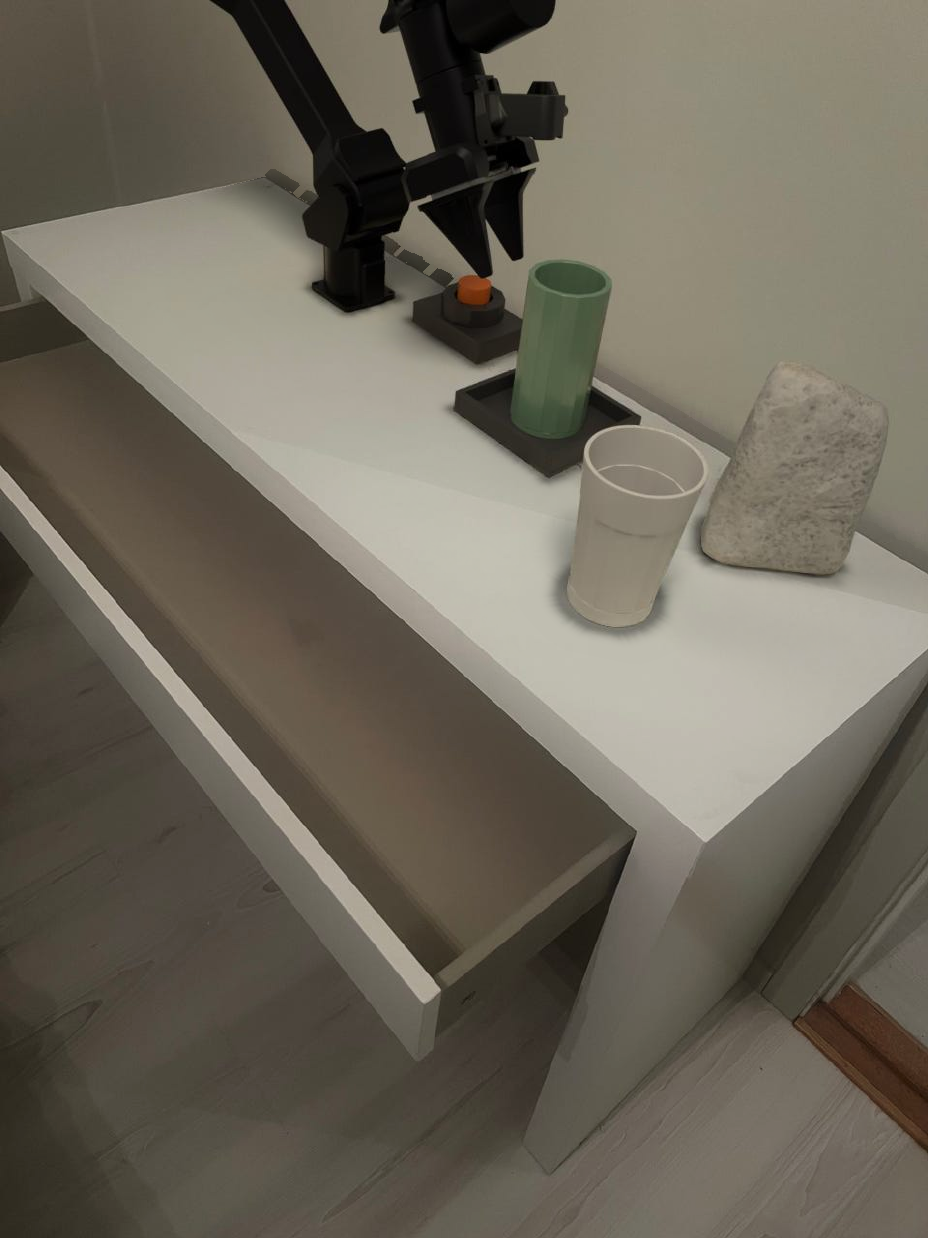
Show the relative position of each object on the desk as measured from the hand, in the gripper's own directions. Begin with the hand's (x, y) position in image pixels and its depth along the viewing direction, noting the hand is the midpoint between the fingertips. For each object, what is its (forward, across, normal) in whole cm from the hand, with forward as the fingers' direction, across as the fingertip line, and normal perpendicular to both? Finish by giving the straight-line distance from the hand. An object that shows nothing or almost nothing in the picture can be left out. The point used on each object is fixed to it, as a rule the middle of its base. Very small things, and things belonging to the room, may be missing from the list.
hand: (503, 267), depth 82 cm
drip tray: (+13, -4, -1) cm, 14 cm away
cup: (+22, -23, -9) cm, 34 cm away
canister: (+13, -4, -2) cm, 14 cm away
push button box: (+6, +7, +8) cm, 12 cm away
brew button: (+2, +7, +6) cm, 9 cm away
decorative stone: (+25, -13, -19) cm, 34 cm away
